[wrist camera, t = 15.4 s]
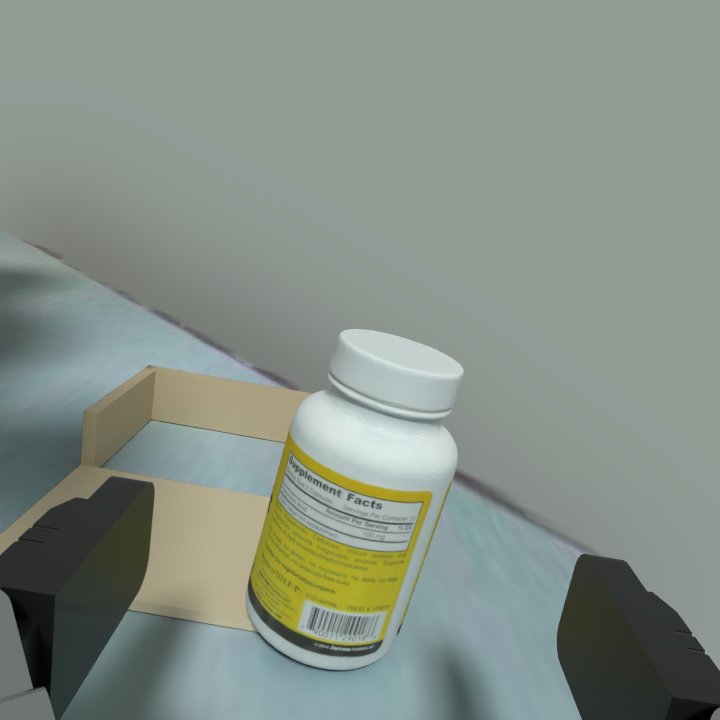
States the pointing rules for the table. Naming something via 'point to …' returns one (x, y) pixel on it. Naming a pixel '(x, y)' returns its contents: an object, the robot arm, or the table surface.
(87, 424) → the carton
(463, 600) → the table surface
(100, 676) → the table surface
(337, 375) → the supplement bottle
